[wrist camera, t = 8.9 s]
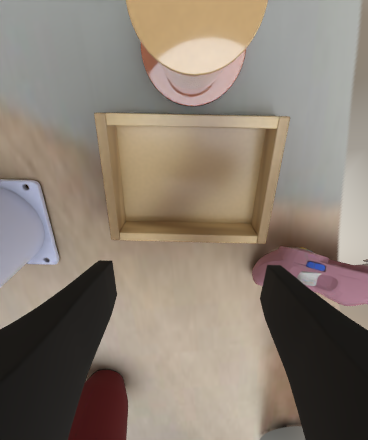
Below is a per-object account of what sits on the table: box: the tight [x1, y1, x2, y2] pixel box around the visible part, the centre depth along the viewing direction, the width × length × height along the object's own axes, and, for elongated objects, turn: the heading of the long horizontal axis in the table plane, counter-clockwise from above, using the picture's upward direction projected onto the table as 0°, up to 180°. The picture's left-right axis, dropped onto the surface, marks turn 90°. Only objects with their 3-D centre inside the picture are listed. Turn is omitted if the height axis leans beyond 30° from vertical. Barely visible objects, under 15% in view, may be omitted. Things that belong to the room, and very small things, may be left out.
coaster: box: [141, 43, 246, 106], centre depth 15 cm, size 7×7×1 cm
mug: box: [68, 370, 128, 440], centre depth 25 cm, size 11×8×10 cm
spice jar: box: [126, 0, 268, 89], centre depth 11 cm, size 5×5×8 cm
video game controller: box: [252, 246, 368, 306], centre depth 19 cm, size 10×5×7 cm, turn 74°
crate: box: [94, 113, 290, 244], centre depth 17 cm, size 12×9×3 cm
